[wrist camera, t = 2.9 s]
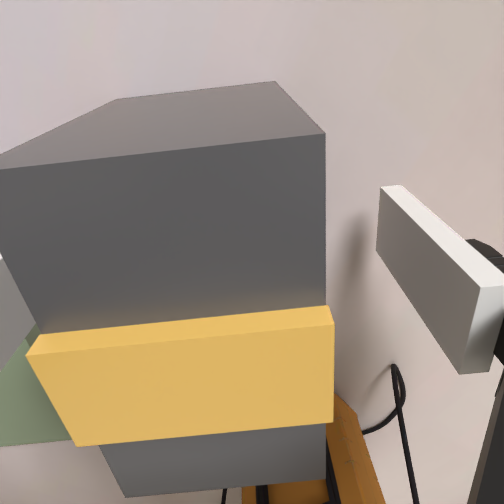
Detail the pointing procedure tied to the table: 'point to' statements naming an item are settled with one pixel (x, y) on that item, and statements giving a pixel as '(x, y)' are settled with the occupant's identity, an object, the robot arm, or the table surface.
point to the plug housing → (180, 285)
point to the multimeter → (340, 464)
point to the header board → (26, 402)
